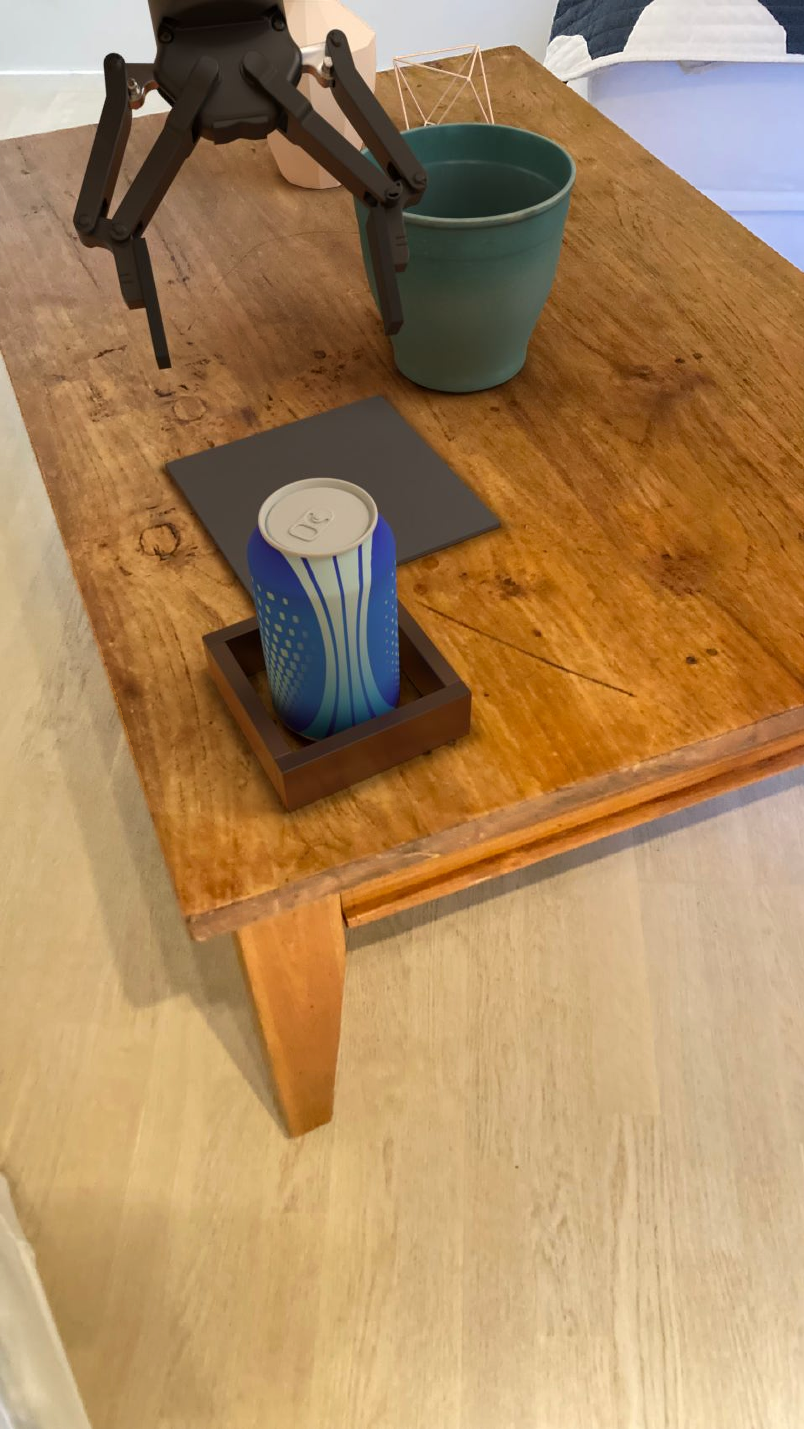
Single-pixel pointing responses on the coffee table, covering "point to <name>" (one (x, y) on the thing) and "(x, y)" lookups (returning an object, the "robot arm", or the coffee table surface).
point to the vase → (309, 23)
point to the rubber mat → (336, 446)
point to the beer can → (326, 606)
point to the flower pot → (476, 251)
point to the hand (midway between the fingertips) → (281, 346)
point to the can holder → (357, 747)
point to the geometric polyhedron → (449, 85)
